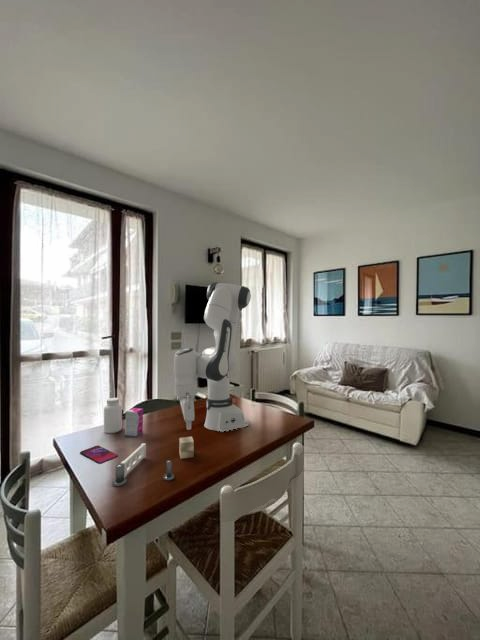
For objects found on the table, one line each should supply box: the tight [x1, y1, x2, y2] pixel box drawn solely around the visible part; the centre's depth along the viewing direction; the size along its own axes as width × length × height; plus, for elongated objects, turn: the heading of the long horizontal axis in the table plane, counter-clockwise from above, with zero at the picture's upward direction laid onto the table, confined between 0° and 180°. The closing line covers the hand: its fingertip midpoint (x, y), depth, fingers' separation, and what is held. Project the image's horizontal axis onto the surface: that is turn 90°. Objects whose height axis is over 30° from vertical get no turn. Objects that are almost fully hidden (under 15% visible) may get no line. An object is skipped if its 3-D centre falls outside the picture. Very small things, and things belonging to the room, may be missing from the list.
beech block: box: [178, 436, 195, 460], centre depth 111 cm, size 5×5×6 cm
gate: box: [120, 442, 147, 478], centre depth 101 cm, size 15×1×5 cm, turn 172°
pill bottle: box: [103, 397, 123, 434], centre depth 135 cm, size 8×8×15 cm
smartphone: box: [79, 445, 119, 465], centre depth 110 cm, size 8×1×15 cm
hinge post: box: [111, 463, 128, 487], centre depth 91 cm, size 4×4×6 cm
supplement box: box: [124, 407, 144, 438], centre depth 130 cm, size 6×6×12 cm
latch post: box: [162, 459, 175, 482], centre depth 94 cm, size 4×4×6 cm
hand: (187, 424), depth 112 cm, fingers open, 8 cm apart
